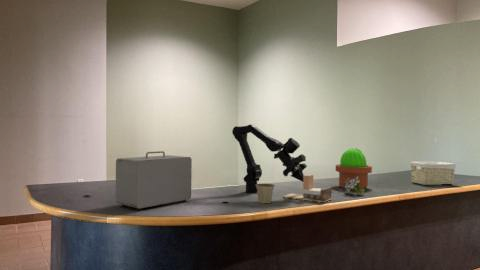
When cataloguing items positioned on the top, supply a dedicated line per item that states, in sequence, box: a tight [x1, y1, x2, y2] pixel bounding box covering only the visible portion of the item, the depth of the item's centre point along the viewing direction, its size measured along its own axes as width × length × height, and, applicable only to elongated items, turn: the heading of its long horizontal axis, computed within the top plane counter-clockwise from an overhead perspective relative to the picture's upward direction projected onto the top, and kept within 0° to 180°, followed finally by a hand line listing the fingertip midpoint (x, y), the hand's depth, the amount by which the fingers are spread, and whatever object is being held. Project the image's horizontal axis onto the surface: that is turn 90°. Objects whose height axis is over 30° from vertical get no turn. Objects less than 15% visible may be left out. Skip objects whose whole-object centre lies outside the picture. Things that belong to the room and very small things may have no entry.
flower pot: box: [256, 183, 276, 204], centre depth 184 cm, size 9×9×9 cm
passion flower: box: [344, 177, 368, 196], centre depth 211 cm, size 11×11×12 cm
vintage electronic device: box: [115, 150, 193, 212], centre depth 178 cm, size 32×18×25 cm, turn 141°
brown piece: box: [301, 174, 322, 199], centre depth 192 cm, size 10×8×11 cm
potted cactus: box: [335, 148, 373, 190], centre depth 237 cm, size 22×22×25 cm
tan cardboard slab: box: [282, 186, 333, 203], centre depth 195 cm, size 23×10×6 cm, turn 56°
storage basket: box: [410, 161, 456, 186], centre depth 256 cm, size 24×16×15 cm
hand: (305, 181), depth 195 cm, fingers closed, pressing on brown piece
